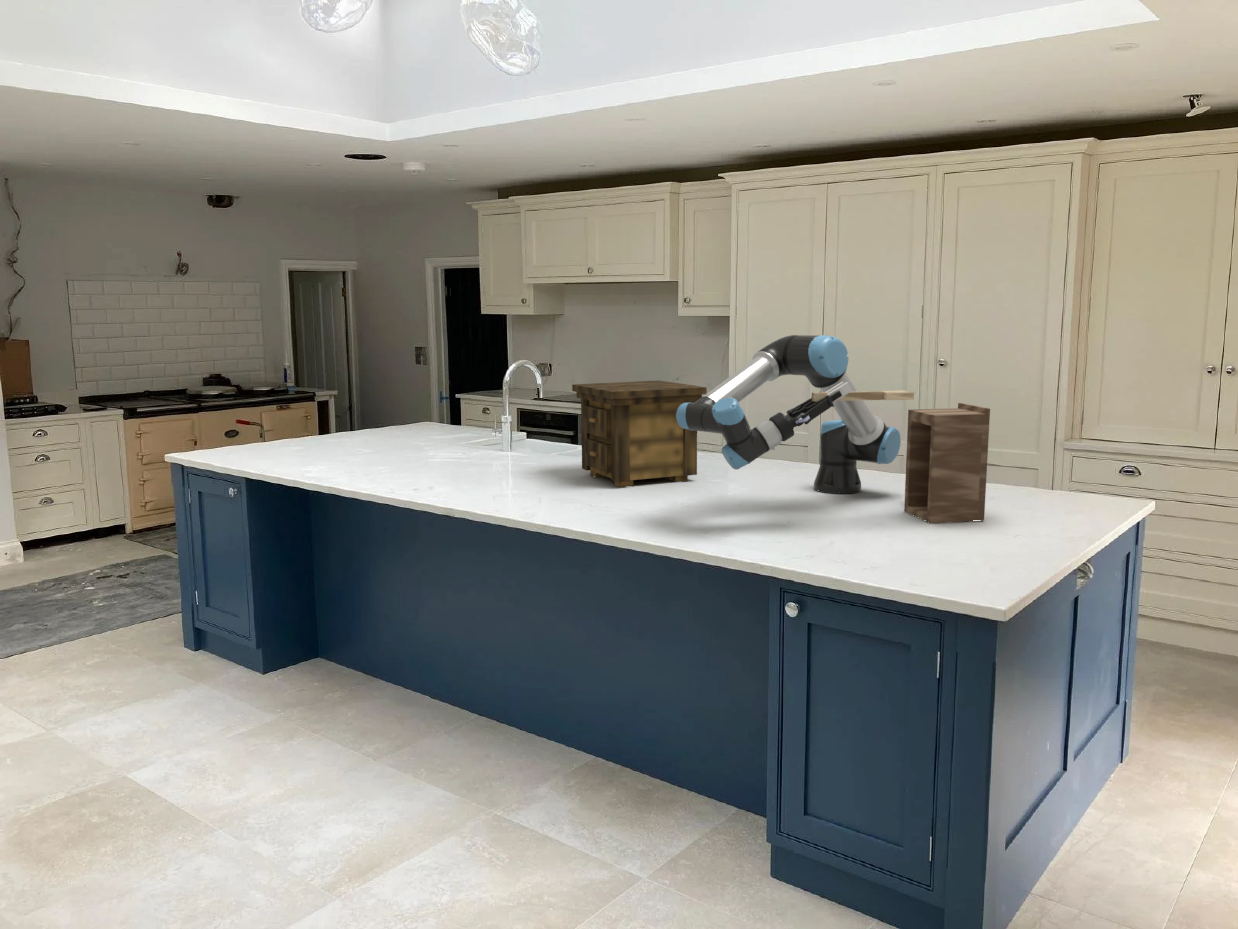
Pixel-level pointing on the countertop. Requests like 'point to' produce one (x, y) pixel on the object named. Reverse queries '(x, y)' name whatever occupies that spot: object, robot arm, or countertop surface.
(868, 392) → the beige long flat part
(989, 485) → the countertop surface
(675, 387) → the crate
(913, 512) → the walnut shelf
